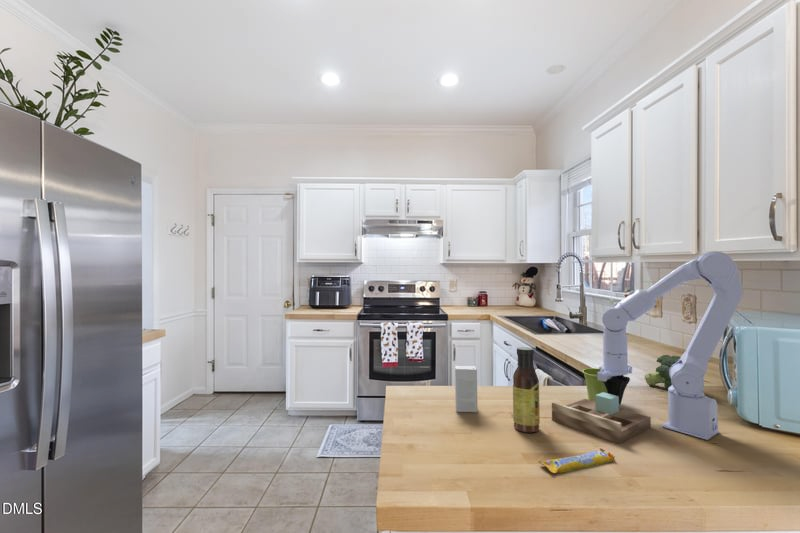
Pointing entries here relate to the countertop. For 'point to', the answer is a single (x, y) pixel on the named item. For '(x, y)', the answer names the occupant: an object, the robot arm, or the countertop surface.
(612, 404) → the block
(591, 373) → the plant pot
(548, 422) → the countertop surface
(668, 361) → the vegetable
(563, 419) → the tray
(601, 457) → the candy bar
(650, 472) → the countertop surface
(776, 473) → the countertop surface
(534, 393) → the sauce bottle
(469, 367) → the skincare box
